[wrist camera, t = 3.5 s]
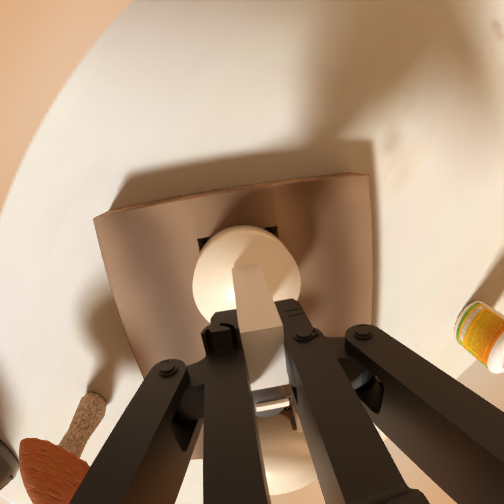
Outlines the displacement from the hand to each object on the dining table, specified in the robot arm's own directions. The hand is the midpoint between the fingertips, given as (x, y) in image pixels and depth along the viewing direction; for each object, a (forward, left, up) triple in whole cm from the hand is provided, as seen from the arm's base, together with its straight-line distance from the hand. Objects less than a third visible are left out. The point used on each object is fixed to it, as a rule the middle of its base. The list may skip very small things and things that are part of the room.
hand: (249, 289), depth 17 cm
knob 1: (0, 0, -6) cm, 6 cm away
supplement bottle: (+24, -12, -6) cm, 28 cm away
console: (0, -7, -6) cm, 9 cm away
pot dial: (0, -7, -3) cm, 8 cm away
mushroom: (-17, -12, -6) cm, 22 cm away
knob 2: (0, -14, -2) cm, 14 cm away
